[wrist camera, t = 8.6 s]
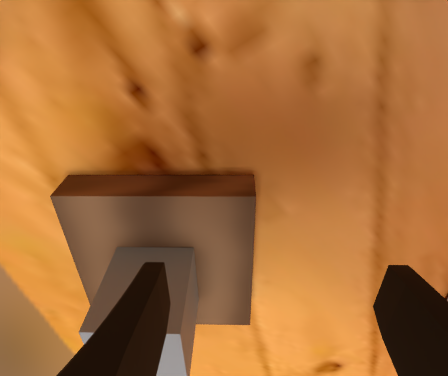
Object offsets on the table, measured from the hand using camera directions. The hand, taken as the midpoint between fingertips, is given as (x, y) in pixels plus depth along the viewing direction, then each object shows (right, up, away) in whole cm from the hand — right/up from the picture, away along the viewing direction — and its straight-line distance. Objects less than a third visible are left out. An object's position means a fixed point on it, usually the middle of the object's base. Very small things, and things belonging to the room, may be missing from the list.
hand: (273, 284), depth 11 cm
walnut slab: (-6, -1, +14) cm, 15 cm away
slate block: (-6, -3, +11) cm, 13 cm away
